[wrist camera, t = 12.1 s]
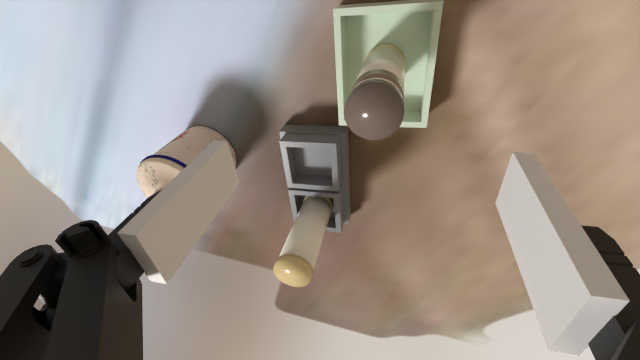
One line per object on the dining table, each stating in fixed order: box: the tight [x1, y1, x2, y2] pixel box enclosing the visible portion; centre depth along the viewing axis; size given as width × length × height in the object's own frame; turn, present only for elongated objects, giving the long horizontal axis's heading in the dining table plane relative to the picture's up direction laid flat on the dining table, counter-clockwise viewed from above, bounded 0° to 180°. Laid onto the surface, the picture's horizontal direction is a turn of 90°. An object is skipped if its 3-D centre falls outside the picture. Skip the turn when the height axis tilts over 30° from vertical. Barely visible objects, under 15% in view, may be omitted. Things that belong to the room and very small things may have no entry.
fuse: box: [273, 196, 334, 287], centre depth 36 cm, size 4×4×12 cm
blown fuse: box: [344, 44, 406, 140], centre depth 25 cm, size 4×4×12 cm
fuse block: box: [279, 124, 351, 233], centre depth 39 cm, size 14×8×4 cm, turn 5°
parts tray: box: [333, 0, 444, 128], centre depth 29 cm, size 11×9×3 cm
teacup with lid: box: [137, 126, 236, 198], centre depth 39 cm, size 12×9×12 cm
